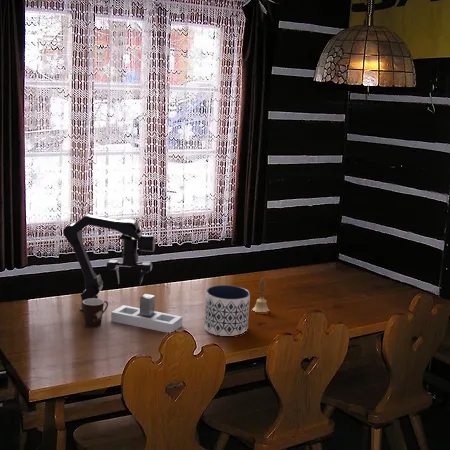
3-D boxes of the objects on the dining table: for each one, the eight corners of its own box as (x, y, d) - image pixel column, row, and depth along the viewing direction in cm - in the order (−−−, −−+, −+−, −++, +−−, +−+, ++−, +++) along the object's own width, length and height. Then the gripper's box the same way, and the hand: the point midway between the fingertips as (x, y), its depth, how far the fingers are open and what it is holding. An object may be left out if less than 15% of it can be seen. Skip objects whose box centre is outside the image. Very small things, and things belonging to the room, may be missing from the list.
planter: (232, 341, 277) (235, 302, 273) (195, 330, 286) (197, 292, 282) (255, 328, 292) (258, 291, 288) (219, 318, 301) (221, 282, 297)
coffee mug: (85, 329, 279) (86, 306, 277) (79, 322, 286) (80, 299, 284) (113, 326, 284) (114, 303, 282) (106, 319, 292) (107, 296, 290)
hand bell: (268, 315, 308) (271, 281, 305) (250, 313, 310) (252, 279, 306) (271, 309, 316) (273, 276, 312) (253, 307, 318) (255, 274, 314)
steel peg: (139, 324, 289) (140, 296, 286) (144, 320, 293) (145, 293, 290) (148, 326, 287) (150, 298, 284) (153, 322, 291) (154, 295, 289)
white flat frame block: (111, 321, 290) (111, 312, 289) (122, 313, 299) (123, 305, 298) (171, 333, 281) (172, 324, 280) (182, 325, 290) (182, 316, 289)
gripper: (154, 246, 301) (153, 280, 305) (112, 243, 302) (111, 277, 305) (150, 253, 290) (149, 288, 294) (106, 250, 291) (105, 285, 295)
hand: (129, 284), depth 297 cm, fingers open, 9 cm apart
